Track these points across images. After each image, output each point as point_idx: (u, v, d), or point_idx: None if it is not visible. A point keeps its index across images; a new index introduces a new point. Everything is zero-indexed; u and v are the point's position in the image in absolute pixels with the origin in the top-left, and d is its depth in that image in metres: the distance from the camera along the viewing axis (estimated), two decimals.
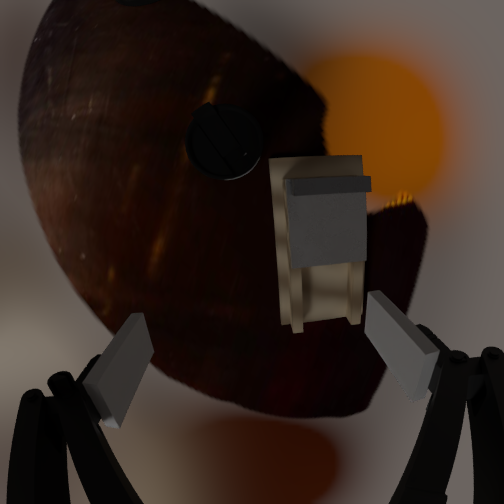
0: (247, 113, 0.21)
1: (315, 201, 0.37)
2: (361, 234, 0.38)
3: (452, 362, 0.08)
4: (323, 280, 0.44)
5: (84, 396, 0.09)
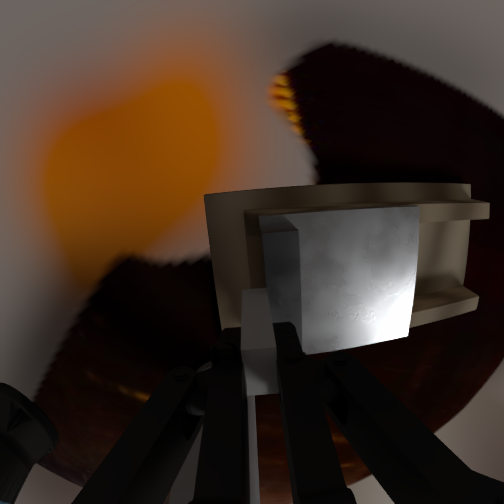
0: None
1: (310, 313, 0.20)
2: (375, 220, 0.19)
3: (288, 362, 0.10)
4: (418, 258, 0.24)
5: None
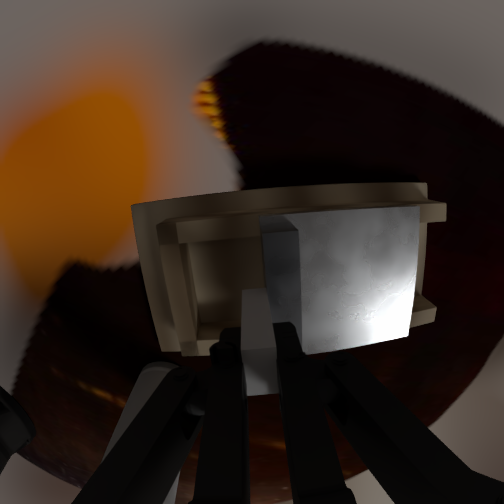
0: None
1: (310, 313, 0.20)
2: (375, 219, 0.19)
3: (288, 362, 0.10)
4: None
5: None
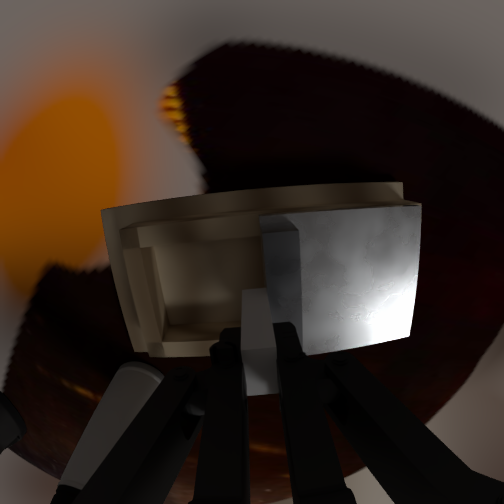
0: None
1: (311, 313, 0.20)
2: (376, 219, 0.18)
3: (288, 362, 0.10)
4: None
5: None
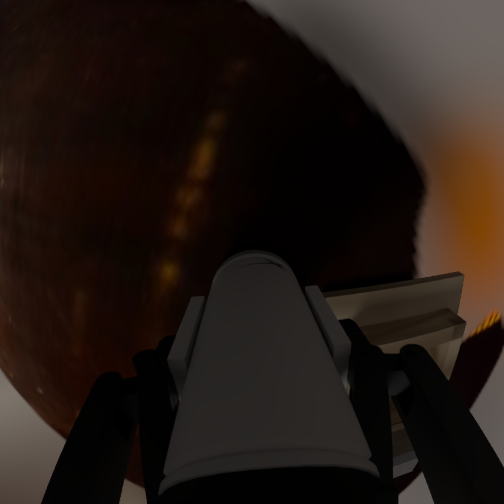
0: None
1: None
2: None
3: (364, 357, 0.10)
4: None
5: (166, 374, 0.11)
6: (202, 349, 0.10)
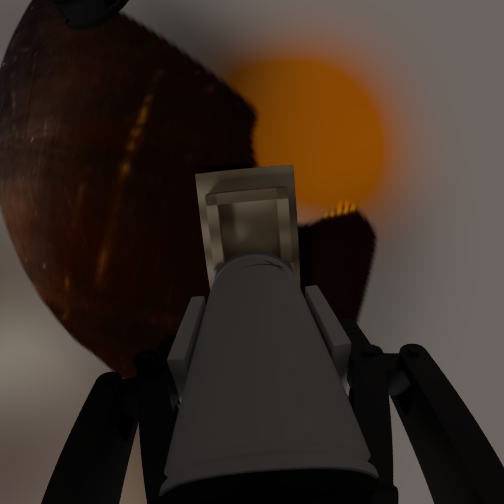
0: None
1: None
2: None
3: (364, 357, 0.10)
4: None
5: (166, 374, 0.11)
6: (202, 351, 0.10)
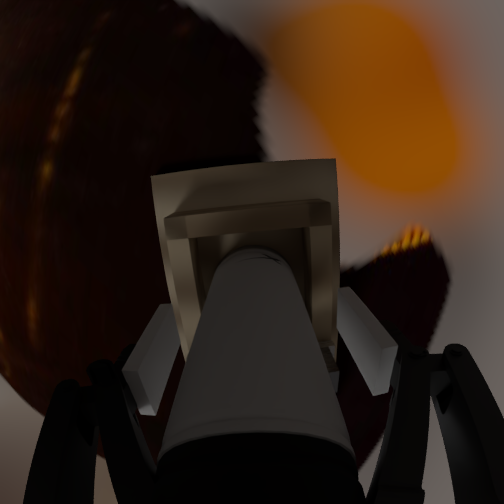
0: None
1: None
2: None
3: (411, 358, 0.09)
4: None
5: (122, 384, 0.10)
6: (201, 335, 0.12)
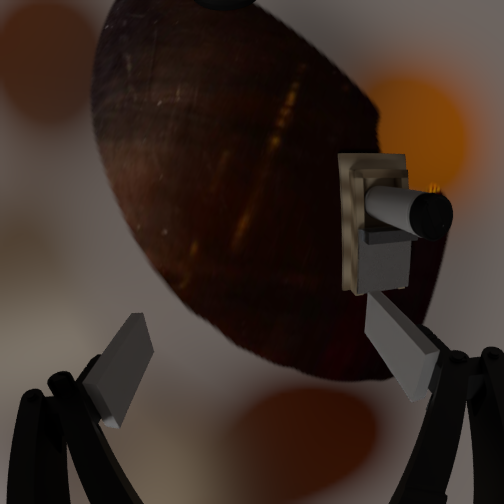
0: (449, 202, 0.30)
1: (378, 245, 0.48)
2: (406, 268, 0.49)
3: (452, 362, 0.08)
4: None
5: (84, 396, 0.09)
6: (394, 194, 0.38)
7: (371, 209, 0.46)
